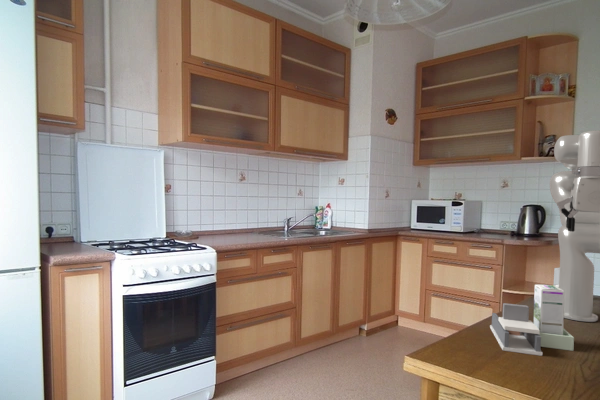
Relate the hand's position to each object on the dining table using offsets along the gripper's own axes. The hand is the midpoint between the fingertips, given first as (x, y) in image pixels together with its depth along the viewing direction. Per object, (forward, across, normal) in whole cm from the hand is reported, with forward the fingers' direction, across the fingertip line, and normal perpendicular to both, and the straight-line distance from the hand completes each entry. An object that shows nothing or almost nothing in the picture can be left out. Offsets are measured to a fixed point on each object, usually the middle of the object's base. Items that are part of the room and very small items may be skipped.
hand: (590, 232), depth 111 cm
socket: (+30, -13, -11) cm, 35 cm away
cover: (+25, -22, -17) cm, 37 cm away
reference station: (+30, -22, -13) cm, 40 cm away
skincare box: (+31, +9, +47) cm, 57 cm away
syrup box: (+30, -13, -11) cm, 34 cm away
